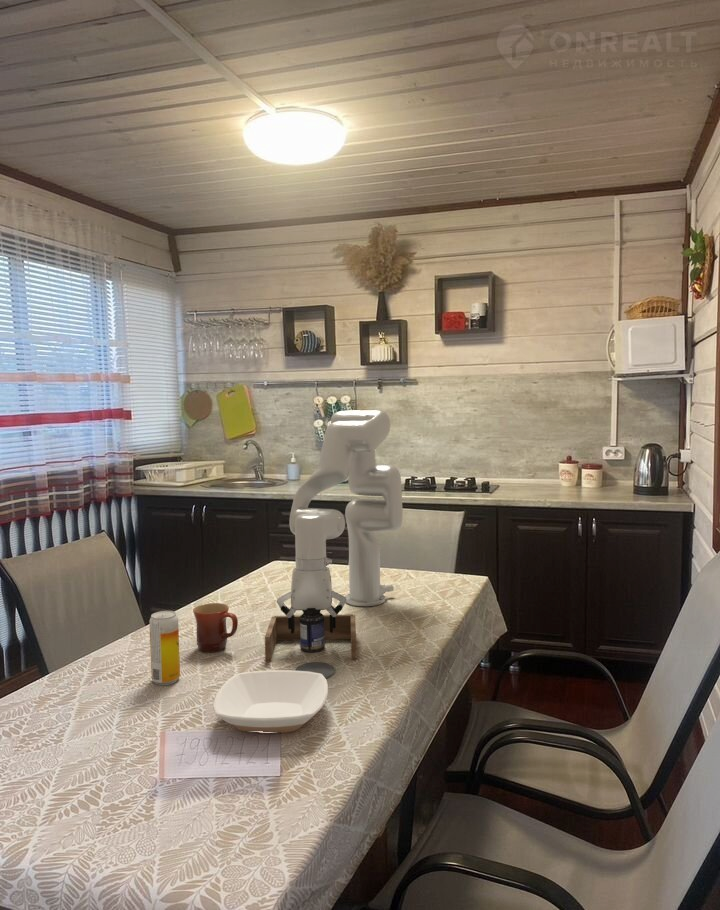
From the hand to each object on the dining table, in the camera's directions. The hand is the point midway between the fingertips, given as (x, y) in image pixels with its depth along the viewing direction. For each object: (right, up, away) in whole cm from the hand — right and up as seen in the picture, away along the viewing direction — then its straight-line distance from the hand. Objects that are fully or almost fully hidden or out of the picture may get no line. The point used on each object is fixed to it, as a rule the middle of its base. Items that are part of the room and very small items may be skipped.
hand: (312, 631), depth 165 cm
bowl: (-5, -8, -36) cm, 37 cm away
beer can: (-31, -6, -18) cm, 36 cm away
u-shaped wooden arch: (0, -4, 0) cm, 4 cm away
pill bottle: (0, -5, 0) cm, 5 cm away
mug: (-24, -5, +1) cm, 24 cm away
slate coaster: (+2, -6, -14) cm, 15 cm away
